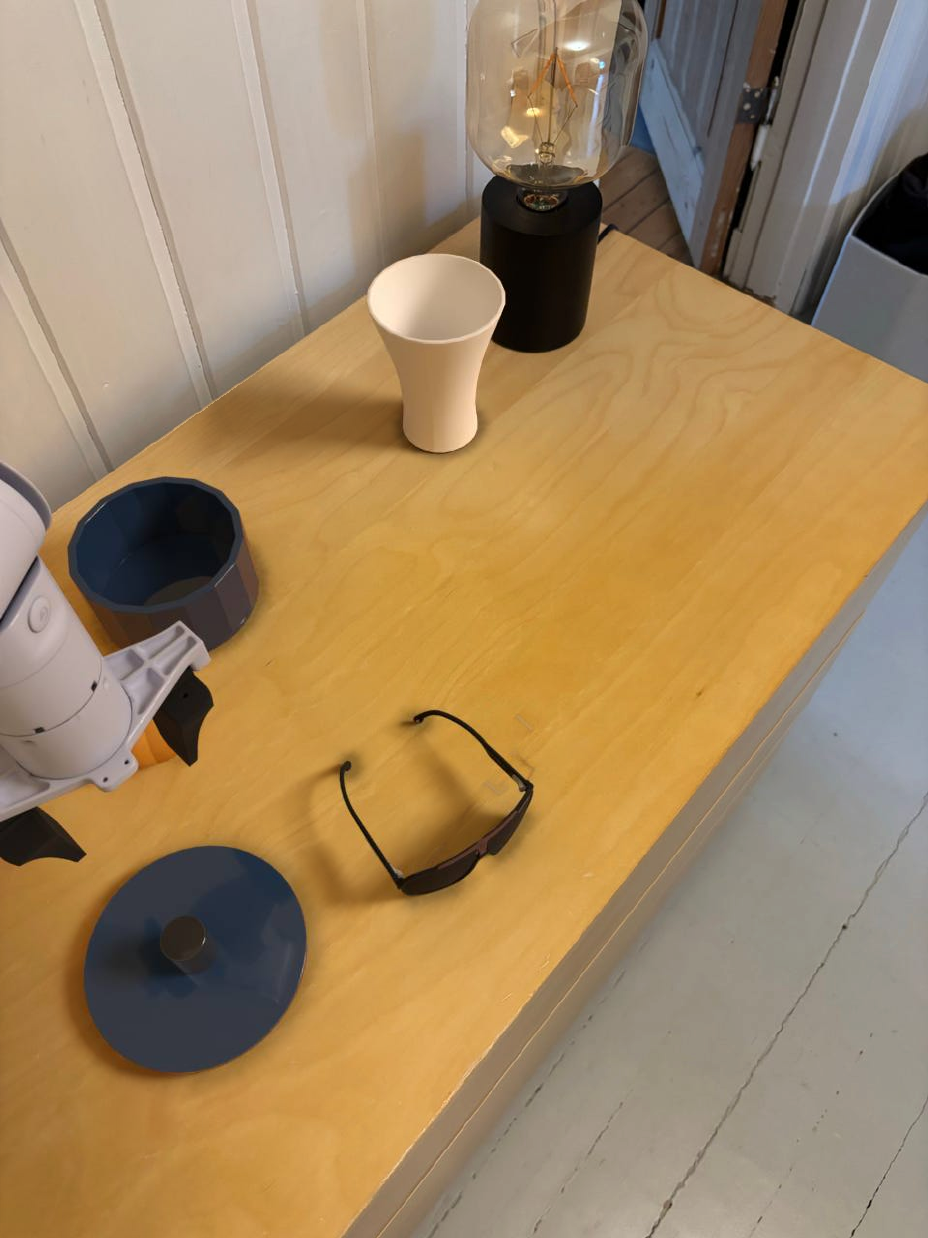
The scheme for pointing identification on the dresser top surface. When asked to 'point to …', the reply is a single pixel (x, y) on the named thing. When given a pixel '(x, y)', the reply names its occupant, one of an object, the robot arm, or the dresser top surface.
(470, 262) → the cup
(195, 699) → the robot arm
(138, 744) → the orange banded oval part
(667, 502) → the dresser top surface
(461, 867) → the sunglasses
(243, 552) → the pot
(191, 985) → the lid
